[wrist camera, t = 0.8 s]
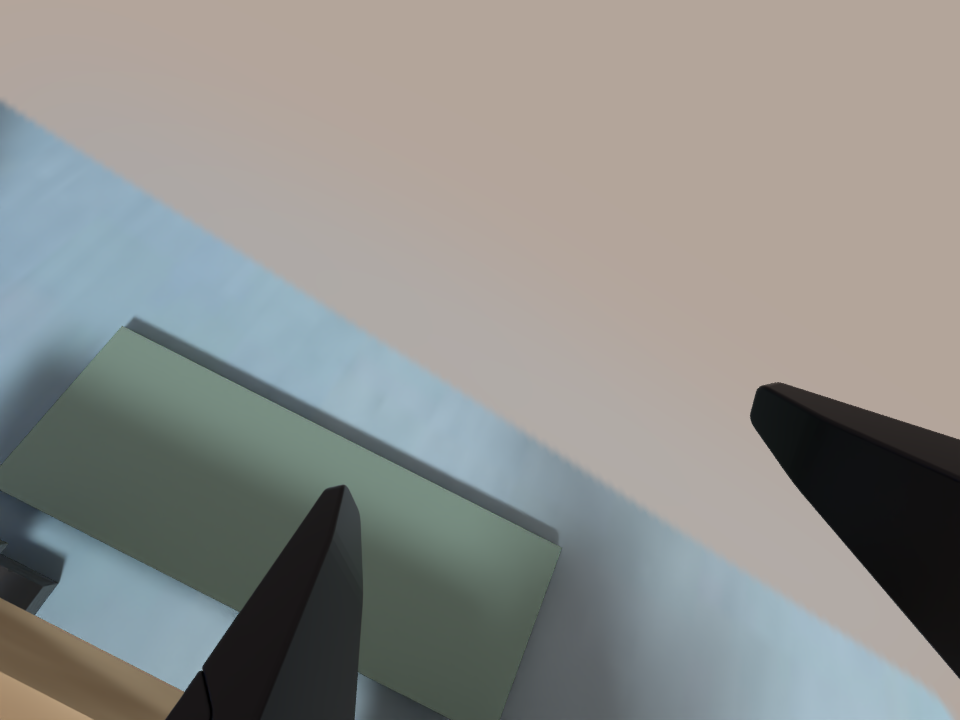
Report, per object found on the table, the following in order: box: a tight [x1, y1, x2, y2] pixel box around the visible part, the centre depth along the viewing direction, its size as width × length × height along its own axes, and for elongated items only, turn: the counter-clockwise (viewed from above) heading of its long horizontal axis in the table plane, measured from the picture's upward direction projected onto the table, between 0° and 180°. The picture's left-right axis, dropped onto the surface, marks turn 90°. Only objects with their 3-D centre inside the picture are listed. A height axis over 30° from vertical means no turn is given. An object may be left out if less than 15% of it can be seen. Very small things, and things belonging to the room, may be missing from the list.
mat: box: [0, 326, 562, 720], centre depth 20 cm, size 8×25×1 cm, turn 64°
